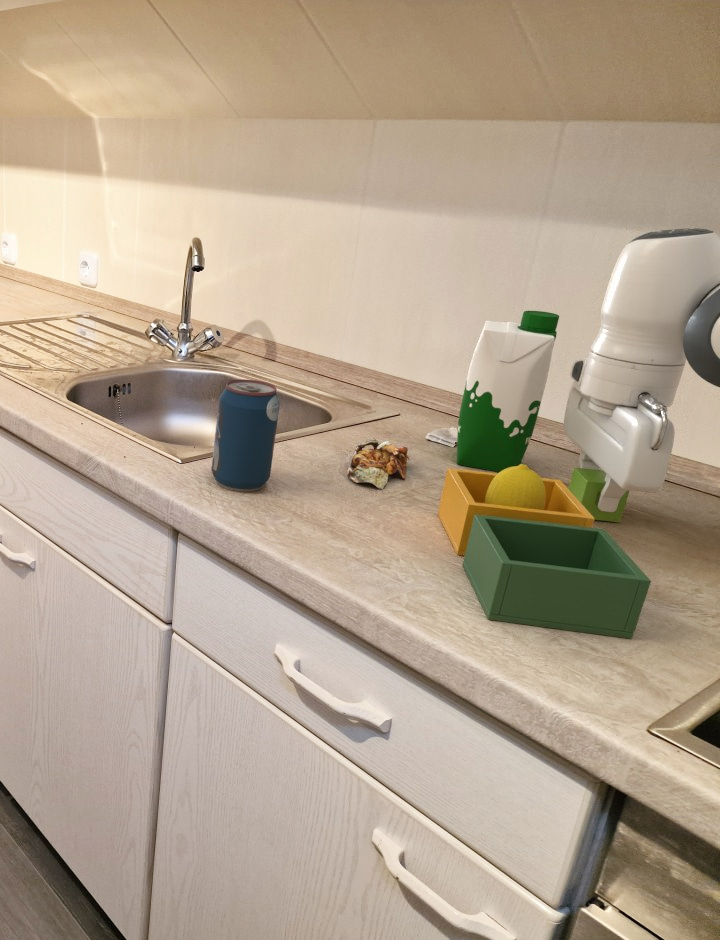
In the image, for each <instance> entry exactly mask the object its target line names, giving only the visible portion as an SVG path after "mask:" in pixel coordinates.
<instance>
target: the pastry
mask: <svg viewBox="0 0 720 940" xmlns="http://www.w3.org/2000/svg"><path fill="white" fill-rule="evenodd" d="M367 446H372V447H373V448H367V449H364V448H365V447H367ZM408 451H409V449H408V447H406V446H398V447H397V446H395V445H393V444H392V443H391V441H389V440H386V441H384V442H380V443H379V440H377V439H375V437H373V438H372V437H371V438H370V439H369V440H365V441H364V442H363V443H361V442H360V443H357V445H356V447H355V448H354V451H353V455H352V456H351V457H350V461H349V464H348V468H347V473H346V475H347V477H348V479H349V480H352V482H355V483H370V484H372V485H374V486H375V487H376V488H378V489H380V490H384V488H385V486H386V485H387V484H388V479H389V475H393V474H395V473H396V472H397V471H398V472H399V474H400V476H401V477H402V480H406V474H407V472H408V471H407V470H408V469H407V466H406V465H407V462H410V457H409V456H408Z"/></svg>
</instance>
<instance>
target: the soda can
mask: <svg viewBox="0 0 720 940" xmlns="http://www.w3.org/2000/svg"><path fill="white" fill-rule="evenodd" d="M280 407H281V403H280V400H279V396H278V394H277V386H276V385H274V384H272V383H269V382H265V381H262V380H256V379H233V380H229V381H227V382H226V384H225V388H224V390H223V391H222V392H221V394H220V396H219V397H218V408H217V416H216V424H215V432H214V433H215V434H214V443H213V451H212V459H211V469H210V471H211V474H212V476H213V478H214V480H215V482H216V484H217V485H219V487H222V488H224V489H226V490H231V491H235V492H246V493H248V492H256V491H259V490H261V489H262V488H263V487H264V485H266V483H267V482H268V481H269V479H270V477H271V471H272V465H273V456H274V450H275V442H276V437H277V436H276V435H277V428H278V421H279V413H280Z"/></svg>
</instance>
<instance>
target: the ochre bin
mask: <svg viewBox="0 0 720 940" xmlns="http://www.w3.org/2000/svg"><path fill="white" fill-rule="evenodd" d="M498 473H499V472H490V471H480V470H471V469H461V468H453V467H447V470H446V474H445V479H444V483H443V488H442V491H441V497H440V500H439V501H440V502H439V506H438V510H437V516H438V518H439V520H440V522H441V524H442V526H443V528H444V530H445V533H446V534H447V537H448V539H449V541H450V544H451V545H452V547H453V549H454V552H455V553H456V555H457V556H465V552H466V548H467V544H468V540H469V535H470V531H471V527H472V523H473V519H474V515H475V514H477V515H486V516H494V517H503V518H512V519H521V520H529V521H538V522H547V523H555V524H564V525H573V526H582V527H590V528H594V523H595V521H596V520H595V518H594V517H593V516H592V515H591V514H590V513H589V512H588V510H587V509H586V508H585V507H584V506H583V505H582V504H581V503H580V502H579V500H578V499H577V498H576V497H575V496H574V495H573V494H572V493H571V491H570V490H569V489H568V488H569V487H567V486H566V485H565V483H564V482H563V481H562V480H561V479H555V478H547V477H546V478H545V477H541V479H542V480H543V483H544V486H545V491H546V500H545V506H544V510H538V509H529V508H520V507H511V506H502V505H494V504H485V497H486V493H487V490H488V488H489V485H490V483H491V482H492V480H493V478H494V477H495V476H496V475H497V474H498Z"/></svg>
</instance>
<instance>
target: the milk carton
mask: <svg viewBox="0 0 720 940" xmlns="http://www.w3.org/2000/svg"><path fill="white" fill-rule="evenodd" d="M559 320H560V314H557V313H553V312H550V311H549V312H548V311H541V310H524V311H523V313H522V316H521V320H520V323H518V322H515V321H507V322H505V321H504V322H503V321H497V320H495V321H494V320H487V319H486V320H485V322H484V325H483V327H482V330H481V333H480V335H479V338H478V341H477V344H476V346H475V349H474V351H473V354H472V357H471V361H470V364H469V368H468V372H467V376H466V382H465V386H464V390H463V395H462V400H461V403H460V407H459V412H458V413H459V415H458V422H457V436H456V437H457V440H456V441H457V444H456V448H457V449H456V465H458V466H463V467H469V468H474V469H480V470H484V471H492V472H495V473H499V472H501V471H502V470H504V469H506V468H509V467H514V466H519V465H520V464H522V461H523V459H524V456H525V455H526V452H527V449H528V447H529V446H530V445H529V444H530V442H531V441H532V440H531V439H532V436H533V433H534V430H535V427H536V424H537V420H538V416H539V411H540V408H541V404H542V400H543V396H544V392H545V389H546V386H547V385H546V384H547V381H548V376H549V372H550V367H551V361H552V355H553V350H554V345H555V341H556V339H557V328H558V323H559Z"/></svg>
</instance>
